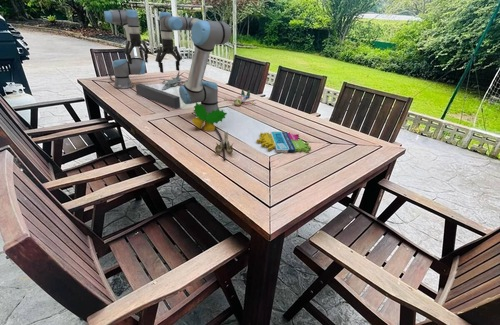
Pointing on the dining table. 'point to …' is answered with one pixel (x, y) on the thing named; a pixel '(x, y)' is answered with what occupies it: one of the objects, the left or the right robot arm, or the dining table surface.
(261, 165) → the dining table surface
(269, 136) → the sign
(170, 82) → the airplane
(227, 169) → the dining table surface
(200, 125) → the ornament
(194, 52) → the right robot arm
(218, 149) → the jawbone
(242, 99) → the toy
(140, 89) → the bar
